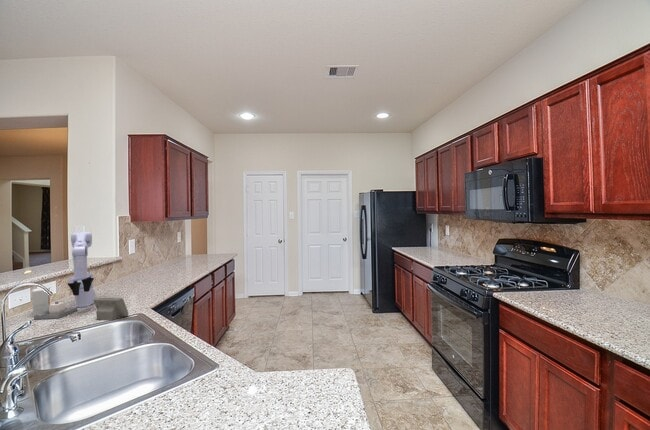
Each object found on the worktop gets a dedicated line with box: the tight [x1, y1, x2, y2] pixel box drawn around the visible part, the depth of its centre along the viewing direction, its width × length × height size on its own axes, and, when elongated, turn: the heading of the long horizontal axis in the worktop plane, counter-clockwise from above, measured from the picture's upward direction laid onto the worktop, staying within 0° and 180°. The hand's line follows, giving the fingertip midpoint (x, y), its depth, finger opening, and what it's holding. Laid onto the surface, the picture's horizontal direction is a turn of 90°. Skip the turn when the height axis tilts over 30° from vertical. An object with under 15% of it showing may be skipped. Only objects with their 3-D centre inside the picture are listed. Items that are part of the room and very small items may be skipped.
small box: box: [31, 286, 51, 317], centre depth 159 cm, size 8×6×13 cm
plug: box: [49, 301, 66, 313], centre depth 155 cm, size 4×4×6 cm
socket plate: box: [33, 306, 78, 321], centre depth 155 cm, size 12×12×3 cm
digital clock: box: [93, 296, 129, 321], centre depth 149 cm, size 16×9×11 cm, turn 70°
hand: (81, 293), depth 160 cm, fingers open, 7 cm apart
